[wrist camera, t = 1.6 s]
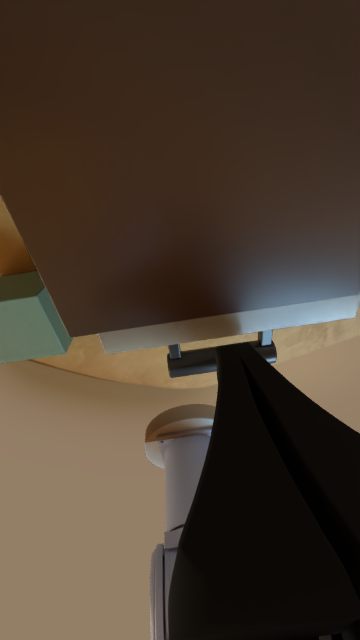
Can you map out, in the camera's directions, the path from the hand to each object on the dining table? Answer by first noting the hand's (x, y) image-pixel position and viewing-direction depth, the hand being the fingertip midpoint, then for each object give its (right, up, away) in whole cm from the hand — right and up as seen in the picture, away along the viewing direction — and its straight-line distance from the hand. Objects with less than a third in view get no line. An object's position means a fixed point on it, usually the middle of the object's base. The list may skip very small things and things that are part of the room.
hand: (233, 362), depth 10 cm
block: (-11, +3, +7) cm, 14 cm away
